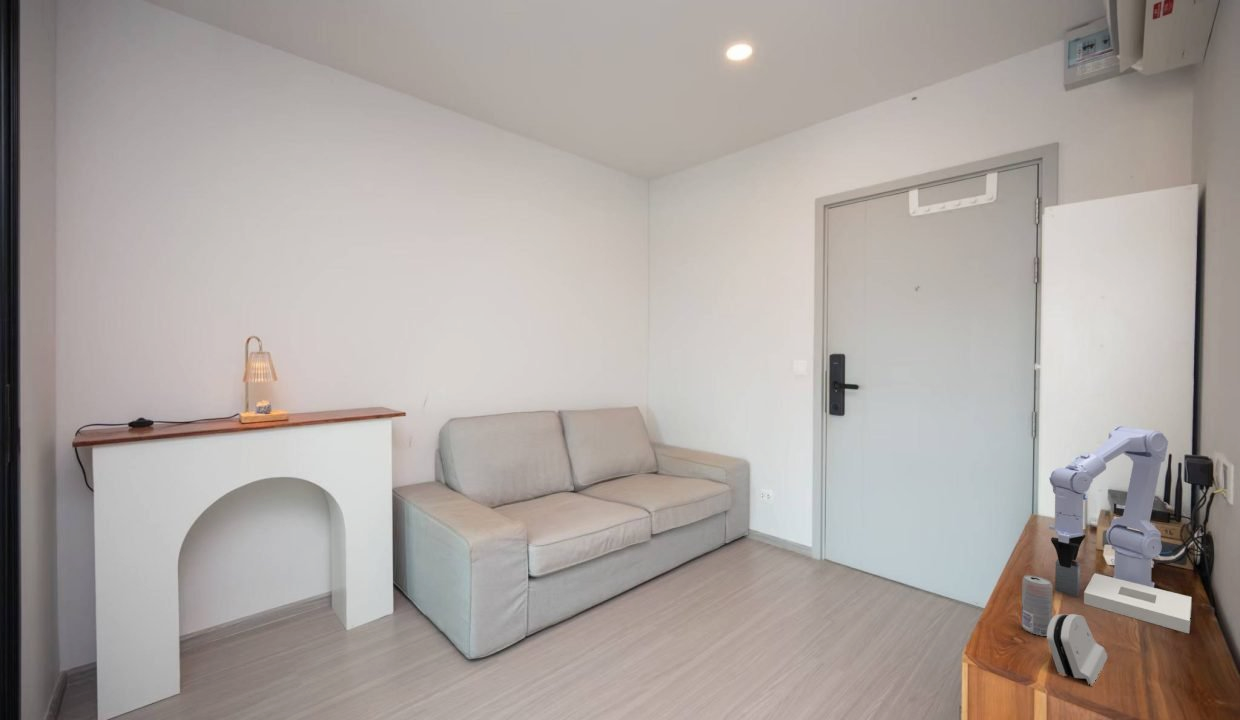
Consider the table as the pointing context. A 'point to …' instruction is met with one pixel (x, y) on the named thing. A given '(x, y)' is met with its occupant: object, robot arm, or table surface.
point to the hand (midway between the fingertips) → (1067, 562)
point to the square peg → (1068, 578)
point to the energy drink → (1036, 604)
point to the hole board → (1139, 602)
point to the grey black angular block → (1075, 647)
